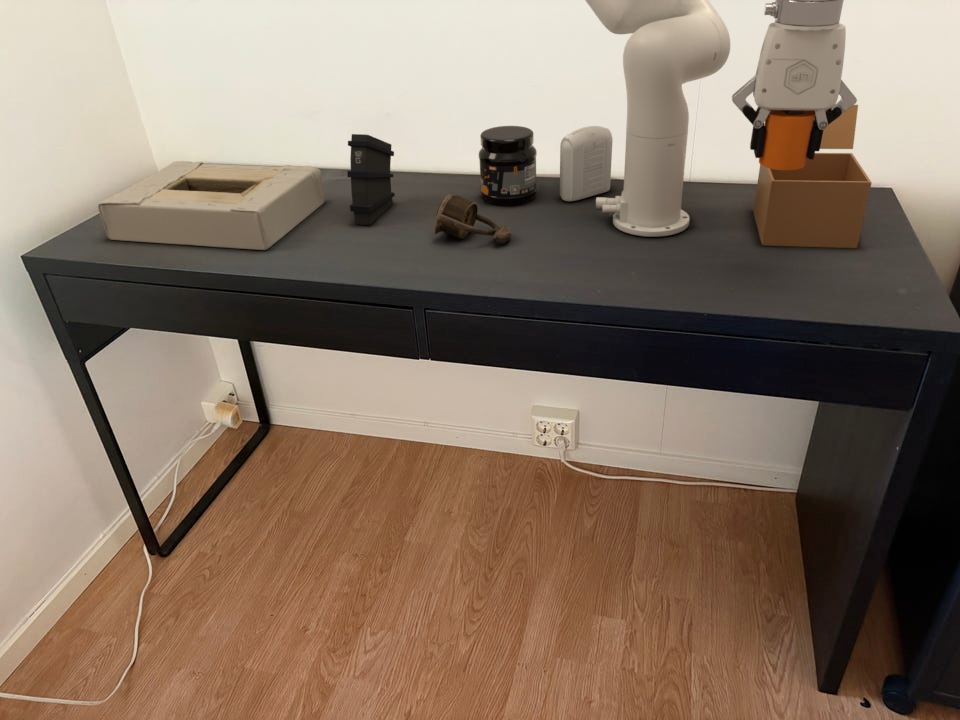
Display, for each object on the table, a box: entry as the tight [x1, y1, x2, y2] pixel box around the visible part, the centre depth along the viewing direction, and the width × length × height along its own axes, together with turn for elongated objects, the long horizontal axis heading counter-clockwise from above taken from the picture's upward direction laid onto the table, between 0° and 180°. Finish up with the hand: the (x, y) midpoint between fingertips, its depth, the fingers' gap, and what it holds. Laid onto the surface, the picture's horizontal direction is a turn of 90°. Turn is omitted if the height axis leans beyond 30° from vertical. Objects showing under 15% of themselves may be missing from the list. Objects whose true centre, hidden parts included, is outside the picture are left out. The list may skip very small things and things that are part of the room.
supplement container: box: [478, 125, 538, 206], centre depth 141 cm, size 10×10×12 cm
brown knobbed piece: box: [432, 193, 512, 245], centre depth 127 cm, size 7×13×10 cm
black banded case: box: [346, 133, 396, 226], centre depth 138 cm, size 4×13×15 cm, turn 163°
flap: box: [814, 104, 859, 150], centre depth 124 cm, size 14×7×1 cm
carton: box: [752, 152, 873, 249], centre depth 122 cm, size 14×14×10 cm
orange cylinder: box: [758, 110, 815, 170], centre depth 104 cm, size 6×6×9 cm
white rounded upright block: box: [559, 125, 613, 202], centre depth 140 cm, size 10×4×12 cm, turn 123°
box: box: [97, 160, 326, 251], centre depth 140 cm, size 23×8×32 cm
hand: (783, 154), depth 105 cm, fingers closed on orange cylinder, 6 cm apart
